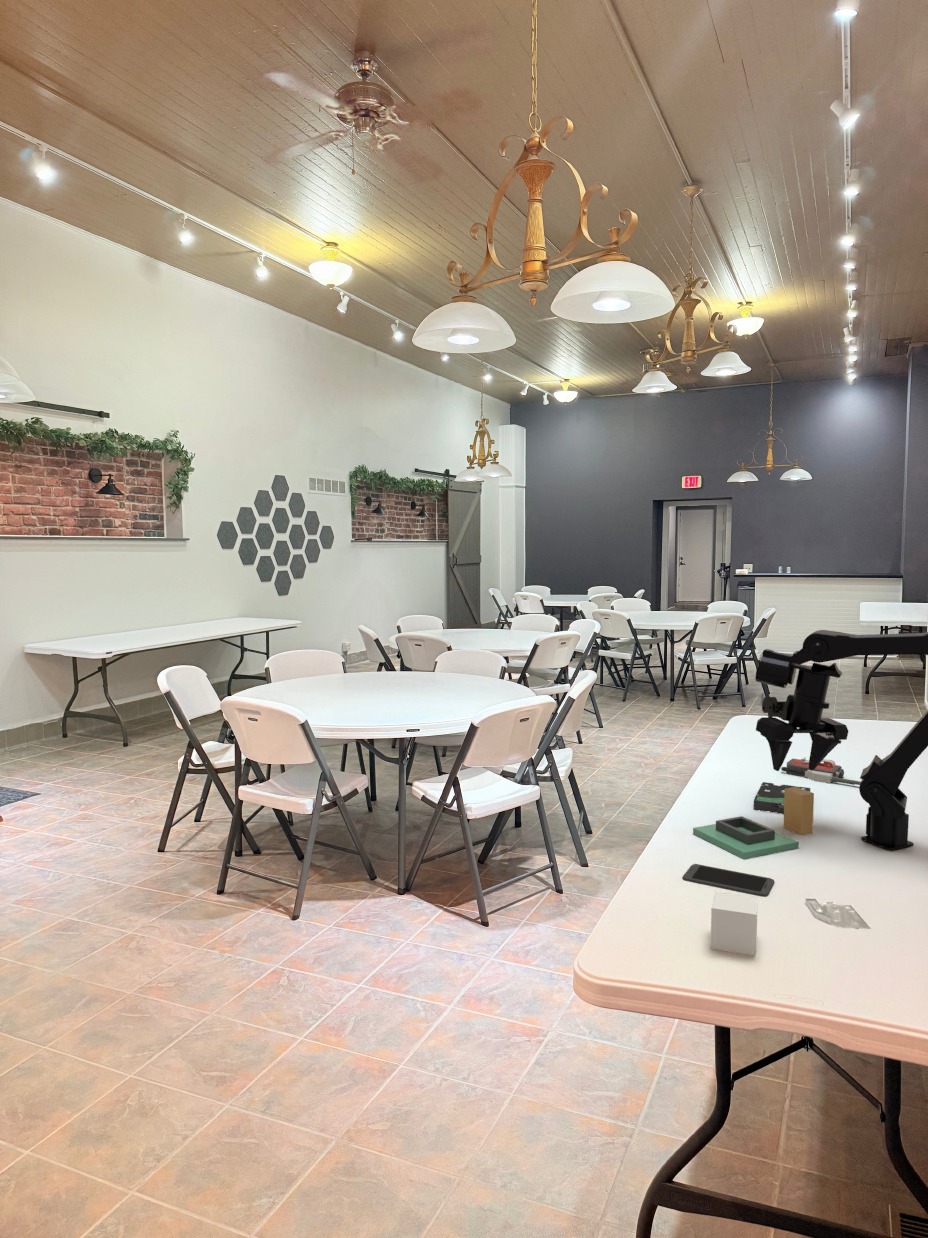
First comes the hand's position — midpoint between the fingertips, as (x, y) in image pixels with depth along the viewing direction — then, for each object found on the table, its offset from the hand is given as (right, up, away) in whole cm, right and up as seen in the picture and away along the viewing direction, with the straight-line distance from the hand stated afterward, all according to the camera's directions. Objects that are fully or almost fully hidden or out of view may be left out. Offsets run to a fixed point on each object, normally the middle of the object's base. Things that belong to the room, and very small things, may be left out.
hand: (793, 769), depth 161 cm
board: (-12, -12, -6) cm, 18 cm away
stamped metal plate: (-8, -16, -37) cm, 41 cm away
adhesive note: (-27, -17, -45) cm, 55 cm away
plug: (+1, -12, -1) cm, 12 cm away
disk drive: (+4, -11, +16) cm, 20 cm away
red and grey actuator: (+22, -9, +35) cm, 42 cm away
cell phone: (-21, -15, -24) cm, 35 cm away
